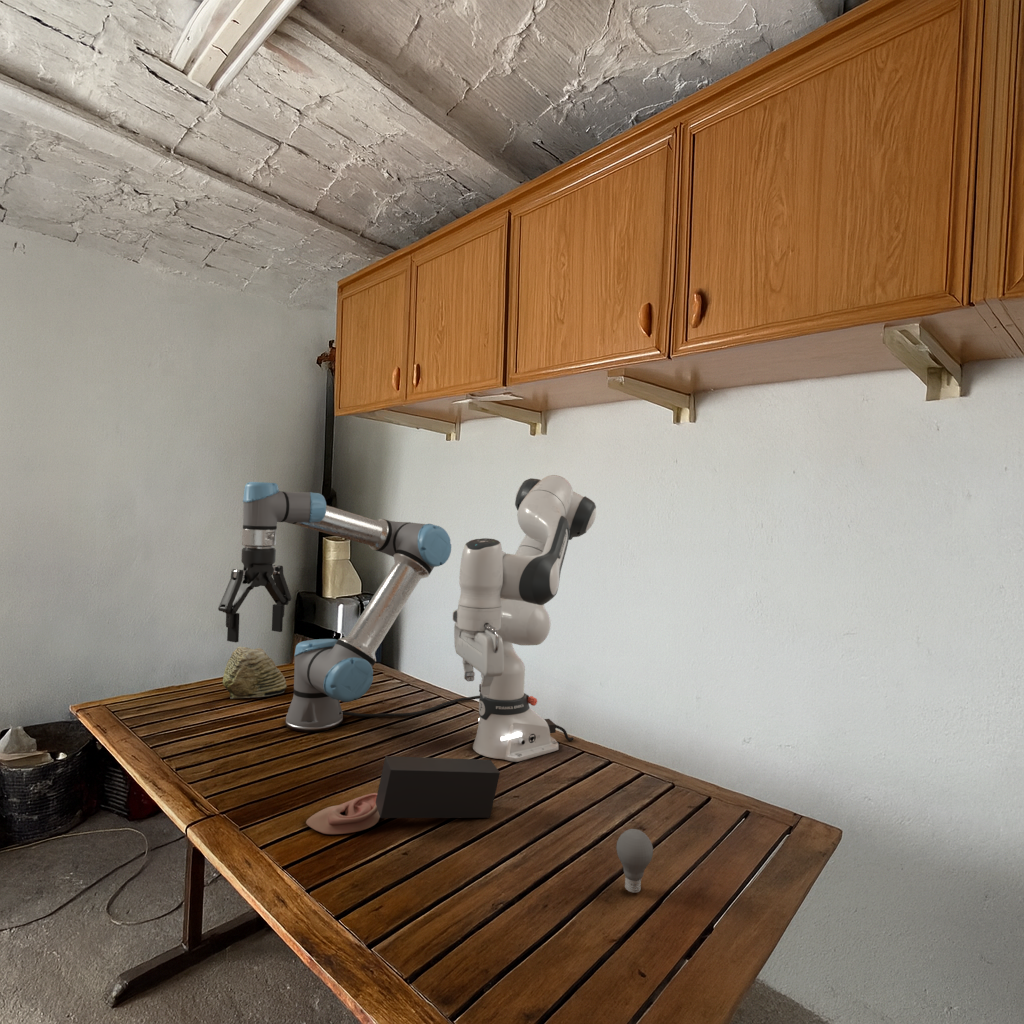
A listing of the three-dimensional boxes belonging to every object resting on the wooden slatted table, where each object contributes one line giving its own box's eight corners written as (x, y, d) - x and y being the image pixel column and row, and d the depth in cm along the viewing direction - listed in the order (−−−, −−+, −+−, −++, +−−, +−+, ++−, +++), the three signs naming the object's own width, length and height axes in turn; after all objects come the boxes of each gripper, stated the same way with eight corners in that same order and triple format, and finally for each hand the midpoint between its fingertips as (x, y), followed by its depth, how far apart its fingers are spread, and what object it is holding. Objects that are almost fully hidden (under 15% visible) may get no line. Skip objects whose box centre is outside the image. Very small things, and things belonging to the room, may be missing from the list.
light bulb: (610, 879, 108) (613, 822, 108) (644, 879, 109) (647, 822, 109) (619, 902, 102) (622, 840, 102) (655, 901, 103) (658, 840, 103)
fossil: (218, 695, 195) (220, 647, 195) (278, 685, 208) (279, 640, 207) (228, 703, 189) (230, 653, 188) (289, 692, 201) (290, 645, 201)
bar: (380, 818, 119) (390, 769, 119) (375, 802, 124) (385, 755, 124) (490, 818, 128) (500, 772, 128) (481, 803, 133) (490, 759, 133)
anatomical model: (298, 809, 120) (327, 783, 131) (297, 830, 120) (327, 802, 131) (363, 819, 117) (388, 791, 128) (362, 840, 117) (387, 811, 128)
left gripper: (227, 551, 137) (224, 648, 138) (308, 545, 160) (304, 629, 160) (203, 548, 140) (199, 643, 141) (285, 543, 163) (282, 625, 163)
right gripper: (513, 628, 120) (510, 701, 120) (477, 609, 139) (475, 672, 139) (482, 630, 118) (478, 704, 118) (450, 610, 136) (447, 674, 137)
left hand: (255, 636), depth 151 cm, fingers open, 13 cm apart
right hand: (476, 686), depth 129 cm, fingers open, 8 cm apart
